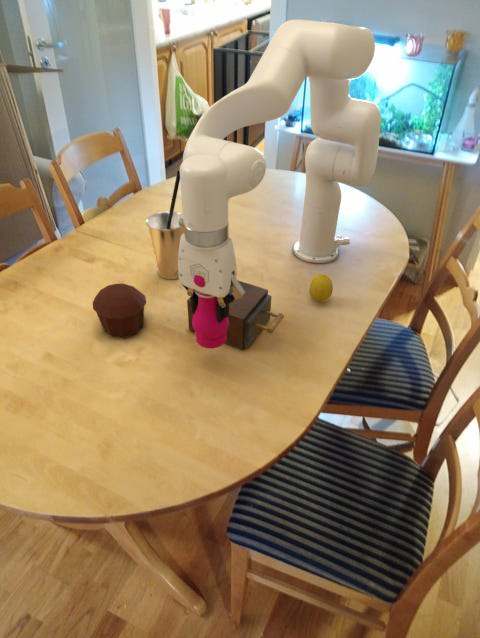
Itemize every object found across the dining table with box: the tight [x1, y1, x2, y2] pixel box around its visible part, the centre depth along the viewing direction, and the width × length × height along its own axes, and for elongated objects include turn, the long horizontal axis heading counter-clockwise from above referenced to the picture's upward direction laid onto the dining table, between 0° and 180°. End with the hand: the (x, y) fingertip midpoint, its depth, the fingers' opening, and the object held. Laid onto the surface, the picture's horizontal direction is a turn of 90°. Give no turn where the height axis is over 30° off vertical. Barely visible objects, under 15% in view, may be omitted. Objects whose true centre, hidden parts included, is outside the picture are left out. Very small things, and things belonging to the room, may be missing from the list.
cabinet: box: [186, 279, 269, 351], centre depth 106 cm, size 14×12×9 cm
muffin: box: [92, 283, 147, 339], centre depth 105 cm, size 12×11×10 cm
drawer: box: [244, 294, 285, 348], centre depth 104 cm, size 17×11×7 cm, turn 62°
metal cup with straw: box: [145, 170, 184, 280], centre depth 115 cm, size 11×11×30 cm
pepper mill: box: [192, 275, 229, 349], centre depth 89 cm, size 7×7×20 cm
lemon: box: [308, 273, 334, 303], centre depth 114 cm, size 6×6×8 cm
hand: (210, 313), depth 91 cm, fingers closed on pepper mill, 4 cm apart
